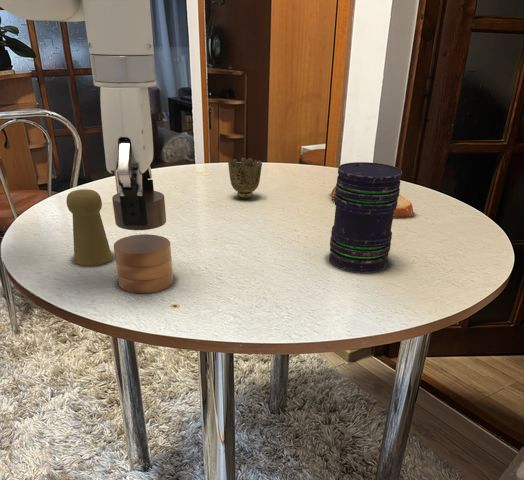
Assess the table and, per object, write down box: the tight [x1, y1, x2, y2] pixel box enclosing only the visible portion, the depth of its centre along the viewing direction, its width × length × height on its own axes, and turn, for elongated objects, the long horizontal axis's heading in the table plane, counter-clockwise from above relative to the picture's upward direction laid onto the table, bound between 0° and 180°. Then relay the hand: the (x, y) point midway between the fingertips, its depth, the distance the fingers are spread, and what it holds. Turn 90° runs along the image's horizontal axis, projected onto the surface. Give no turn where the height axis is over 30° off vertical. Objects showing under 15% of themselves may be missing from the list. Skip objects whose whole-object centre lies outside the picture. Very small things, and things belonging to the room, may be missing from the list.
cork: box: [65, 188, 113, 267], centre depth 81 cm, size 6×6×11 cm
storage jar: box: [328, 161, 403, 274], centre depth 82 cm, size 10×10×15 cm
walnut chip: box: [111, 190, 167, 231], centre depth 71 cm, size 7×7×4 cm
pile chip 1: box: [113, 233, 172, 267], centre depth 74 cm, size 8×8×2 cm
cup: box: [227, 157, 263, 201], centre depth 114 cm, size 8×7×8 cm
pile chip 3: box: [116, 269, 174, 294], centre depth 76 cm, size 8×8×2 cm
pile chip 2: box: [115, 257, 173, 280], centre depth 75 cm, size 8×8×2 cm
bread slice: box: [331, 185, 415, 219], centre depth 113 cm, size 18×18×4 cm
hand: (140, 215), depth 71 cm, fingers closed on walnut chip, 7 cm apart
